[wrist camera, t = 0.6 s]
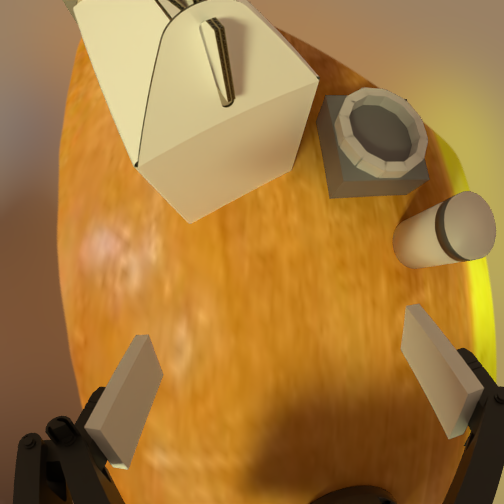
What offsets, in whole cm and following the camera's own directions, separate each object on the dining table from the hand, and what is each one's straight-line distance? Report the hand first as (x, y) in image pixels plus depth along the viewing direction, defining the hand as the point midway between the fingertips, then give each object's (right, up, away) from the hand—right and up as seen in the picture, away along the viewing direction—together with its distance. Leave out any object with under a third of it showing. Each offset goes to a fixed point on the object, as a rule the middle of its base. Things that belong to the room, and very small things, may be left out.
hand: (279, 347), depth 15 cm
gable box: (-8, +20, +21) cm, 30 cm away
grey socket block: (+12, +16, +20) cm, 29 cm away
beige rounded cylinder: (+18, +6, +19) cm, 27 cm away
